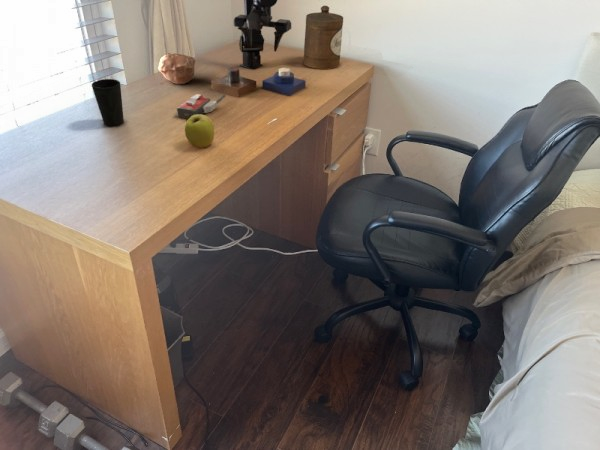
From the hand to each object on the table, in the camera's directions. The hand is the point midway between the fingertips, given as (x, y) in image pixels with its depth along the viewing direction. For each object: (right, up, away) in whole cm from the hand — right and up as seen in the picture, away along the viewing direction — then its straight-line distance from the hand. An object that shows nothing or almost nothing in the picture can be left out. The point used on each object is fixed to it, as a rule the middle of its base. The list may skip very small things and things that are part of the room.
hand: (262, 49), depth 164 cm
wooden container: (+22, +6, +32) cm, 39 cm away
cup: (-43, -30, -22) cm, 57 cm away
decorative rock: (-31, -8, +9) cm, 34 cm away
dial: (-10, -10, +3) cm, 14 cm away
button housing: (+7, -11, +7) cm, 15 cm away
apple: (-15, -38, -31) cm, 51 cm away
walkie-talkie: (-19, -23, -11) cm, 32 cm away
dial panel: (-10, -12, +4) cm, 17 cm away
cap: (+7, -7, +4) cm, 11 cm away
